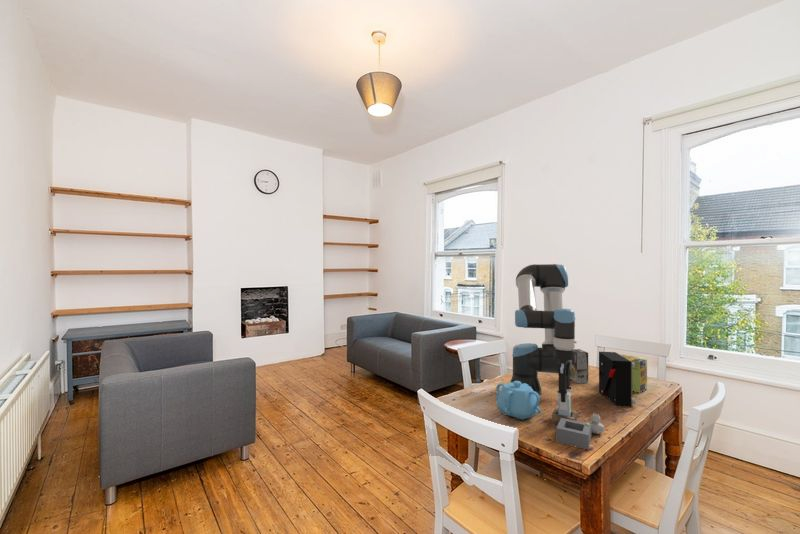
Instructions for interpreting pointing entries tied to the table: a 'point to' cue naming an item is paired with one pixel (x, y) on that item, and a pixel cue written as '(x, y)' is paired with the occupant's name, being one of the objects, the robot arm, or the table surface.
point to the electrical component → (616, 378)
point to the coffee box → (579, 367)
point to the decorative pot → (517, 400)
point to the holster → (557, 417)
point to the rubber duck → (596, 424)
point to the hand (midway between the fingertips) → (564, 407)
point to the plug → (568, 412)
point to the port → (573, 433)
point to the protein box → (638, 373)
